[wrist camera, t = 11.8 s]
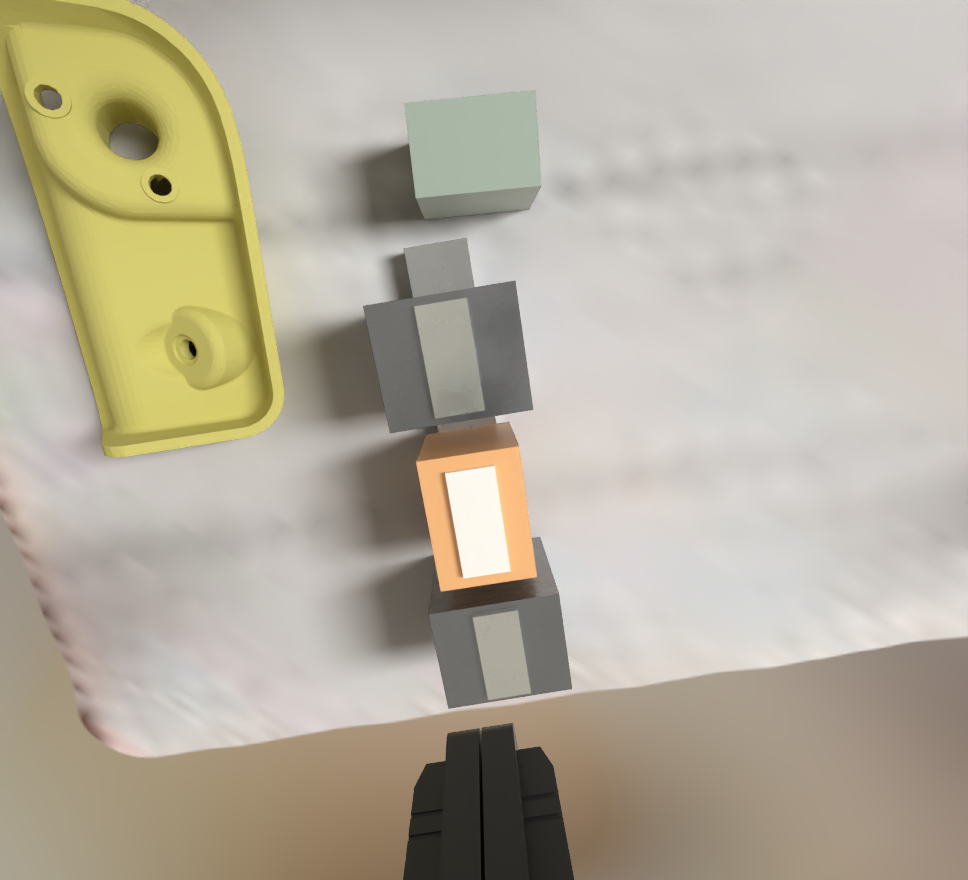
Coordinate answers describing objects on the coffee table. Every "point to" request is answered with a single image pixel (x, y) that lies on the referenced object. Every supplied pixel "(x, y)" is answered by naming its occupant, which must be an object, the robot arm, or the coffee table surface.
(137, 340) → the plastic component
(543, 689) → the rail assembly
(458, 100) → the green block
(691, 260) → the coffee table surface
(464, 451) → the orange module
